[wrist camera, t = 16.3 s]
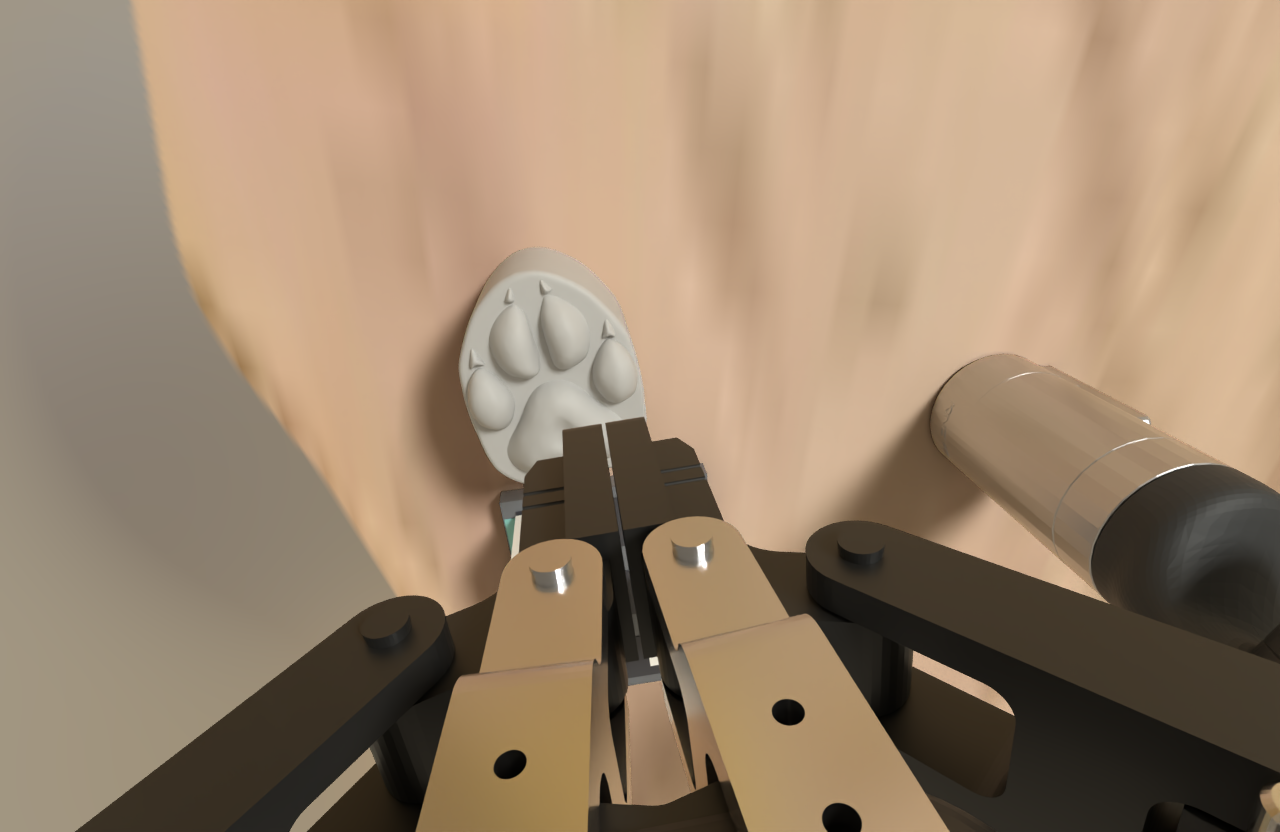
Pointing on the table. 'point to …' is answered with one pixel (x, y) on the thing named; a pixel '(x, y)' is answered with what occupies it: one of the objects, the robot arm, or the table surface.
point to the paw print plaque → (545, 359)
